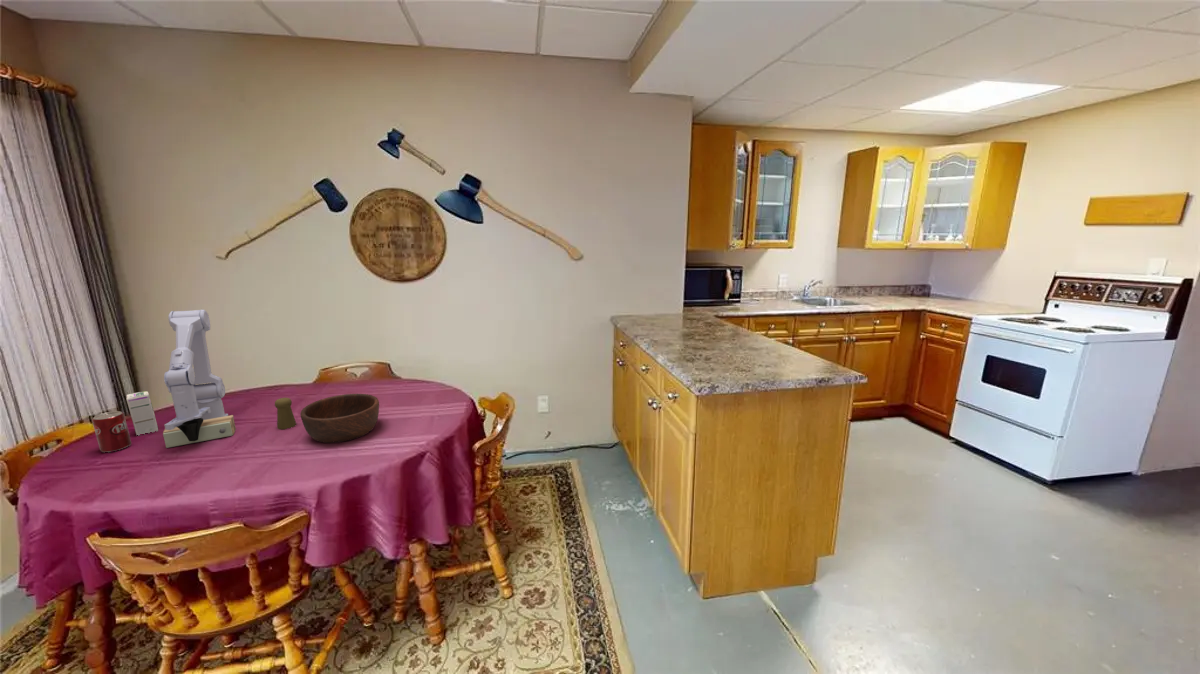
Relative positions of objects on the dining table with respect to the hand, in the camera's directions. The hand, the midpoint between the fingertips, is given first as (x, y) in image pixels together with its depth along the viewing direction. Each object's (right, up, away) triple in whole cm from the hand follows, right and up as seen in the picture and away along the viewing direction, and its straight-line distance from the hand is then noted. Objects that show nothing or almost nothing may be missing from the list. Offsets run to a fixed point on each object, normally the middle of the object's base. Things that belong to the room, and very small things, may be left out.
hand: (193, 440), depth 153 cm
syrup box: (-27, +1, +11) cm, 29 cm away
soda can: (-25, -2, -2) cm, 25 cm away
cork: (+21, +1, +16) cm, 26 cm away
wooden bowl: (+44, 0, +13) cm, 46 cm away
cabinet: (-3, 0, +6) cm, 7 cm away
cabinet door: (0, -1, +3) cm, 3 cm away
